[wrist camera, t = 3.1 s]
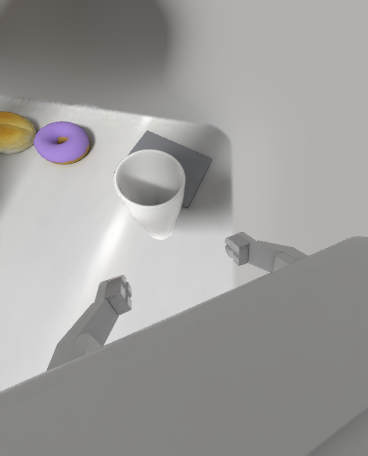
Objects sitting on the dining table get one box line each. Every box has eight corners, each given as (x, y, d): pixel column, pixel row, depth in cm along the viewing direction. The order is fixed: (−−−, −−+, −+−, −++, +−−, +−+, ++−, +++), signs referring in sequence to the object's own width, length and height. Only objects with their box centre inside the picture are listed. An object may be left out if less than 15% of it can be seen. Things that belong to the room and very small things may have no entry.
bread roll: (-11, 156, 29) (-38, 139, 25) (0, 124, 31) (-23, 104, 28) (35, 155, 30) (15, 138, 26) (42, 124, 32) (25, 104, 29)
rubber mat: (114, 174, 30) (113, 172, 29) (147, 132, 34) (147, 130, 34) (187, 208, 29) (187, 206, 28) (211, 160, 33) (212, 158, 33)
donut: (70, 175, 29) (47, 154, 24) (43, 162, 31) (17, 141, 27) (103, 144, 32) (87, 120, 27) (75, 134, 34) (57, 111, 30)
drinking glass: (138, 216, 28) (104, 156, 13) (171, 206, 29) (172, 141, 15) (148, 249, 26) (122, 219, 12) (183, 236, 27) (197, 196, 13)
